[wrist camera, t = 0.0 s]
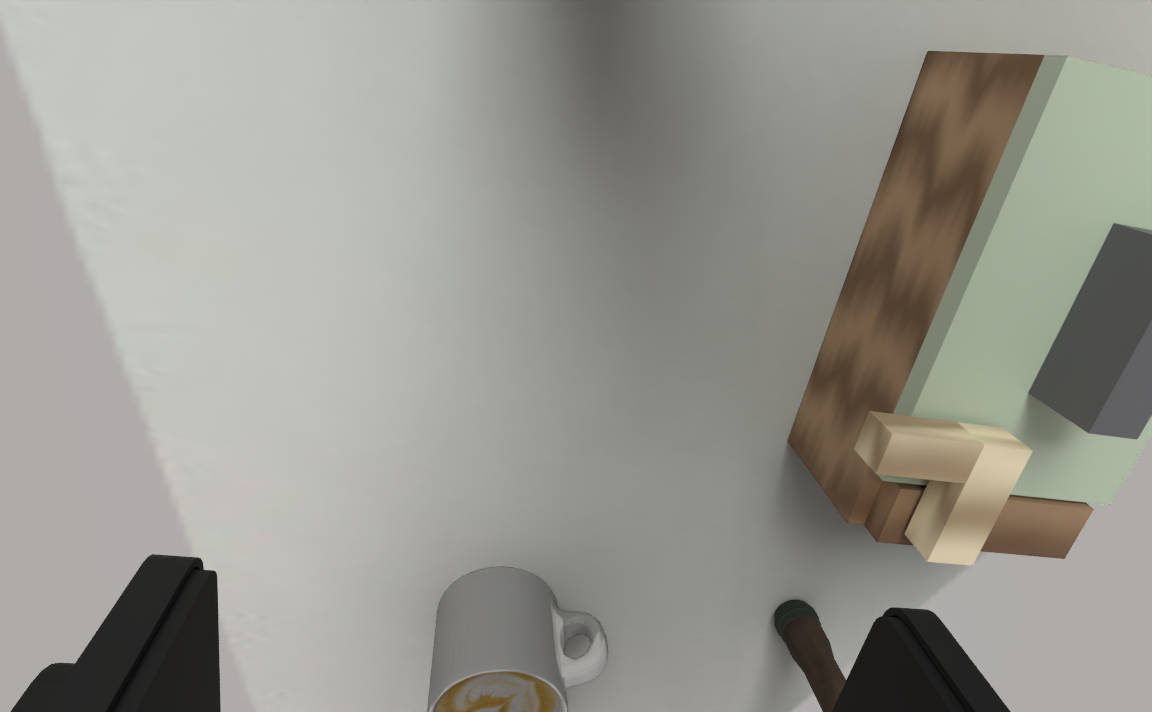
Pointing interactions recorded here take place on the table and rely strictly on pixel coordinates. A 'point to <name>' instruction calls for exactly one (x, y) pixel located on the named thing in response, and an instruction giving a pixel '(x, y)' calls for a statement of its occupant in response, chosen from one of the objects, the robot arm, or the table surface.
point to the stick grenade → (810, 650)
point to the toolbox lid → (1056, 290)
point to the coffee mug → (508, 646)
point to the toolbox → (918, 297)
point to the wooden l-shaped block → (946, 478)
